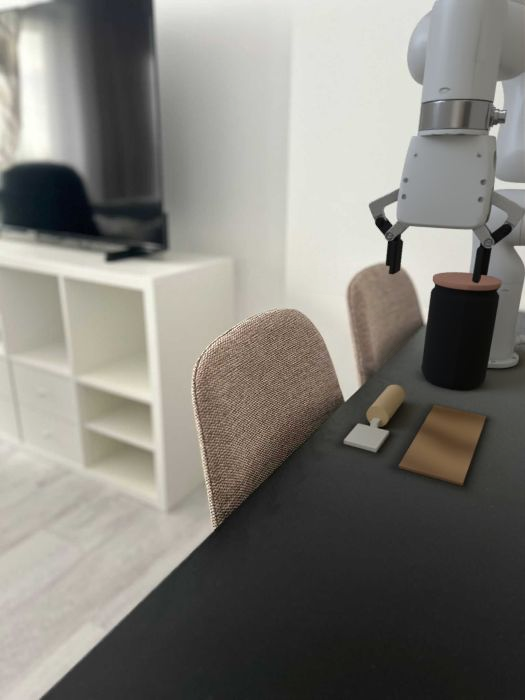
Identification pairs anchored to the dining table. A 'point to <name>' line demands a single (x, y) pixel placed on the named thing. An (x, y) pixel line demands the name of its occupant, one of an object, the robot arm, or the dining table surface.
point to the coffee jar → (460, 330)
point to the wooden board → (444, 445)
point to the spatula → (376, 420)
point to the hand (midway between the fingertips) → (434, 276)
